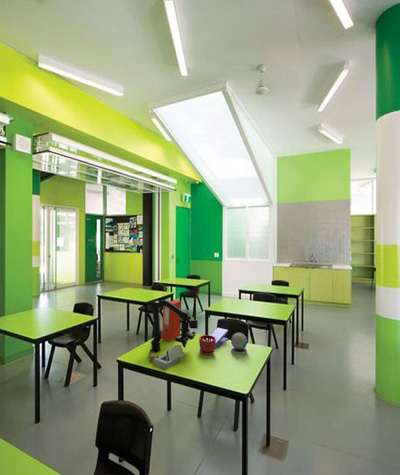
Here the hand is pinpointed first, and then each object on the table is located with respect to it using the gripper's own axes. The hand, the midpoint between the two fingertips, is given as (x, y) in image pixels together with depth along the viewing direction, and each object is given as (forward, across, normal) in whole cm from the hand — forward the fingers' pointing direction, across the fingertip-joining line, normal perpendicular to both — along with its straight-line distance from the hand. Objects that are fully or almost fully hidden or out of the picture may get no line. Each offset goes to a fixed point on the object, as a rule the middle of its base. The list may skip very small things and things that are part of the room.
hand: (184, 347), depth 216 cm
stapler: (+4, +32, -11) cm, 34 cm away
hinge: (+4, -12, 0) cm, 13 cm away
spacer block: (+4, -25, +10) cm, 27 cm away
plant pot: (+4, +10, -15) cm, 19 cm away
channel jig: (+4, -21, 0) cm, 21 cm away
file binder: (+4, +20, +29) cm, 35 cm away
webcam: (+4, +27, -35) cm, 45 cm away
